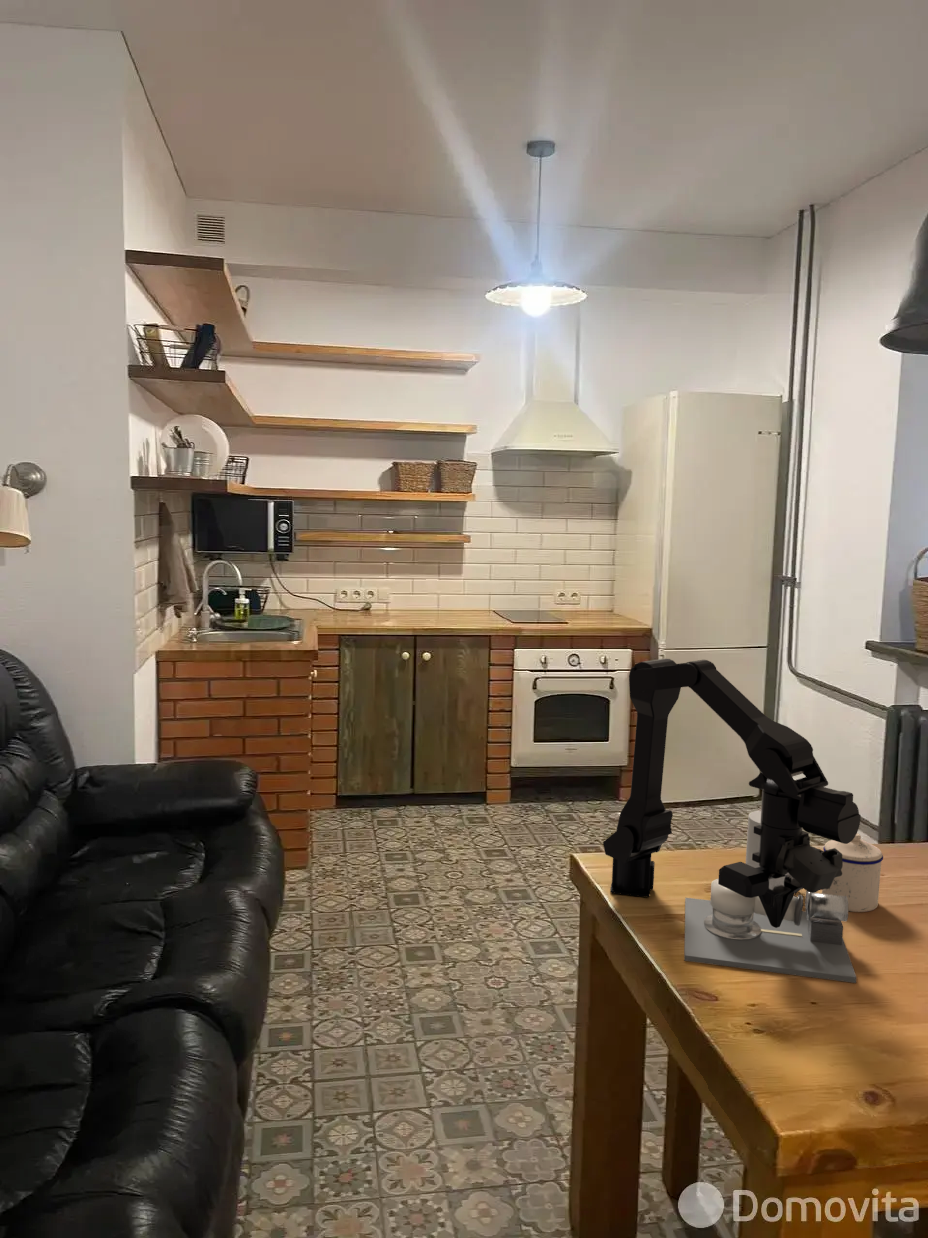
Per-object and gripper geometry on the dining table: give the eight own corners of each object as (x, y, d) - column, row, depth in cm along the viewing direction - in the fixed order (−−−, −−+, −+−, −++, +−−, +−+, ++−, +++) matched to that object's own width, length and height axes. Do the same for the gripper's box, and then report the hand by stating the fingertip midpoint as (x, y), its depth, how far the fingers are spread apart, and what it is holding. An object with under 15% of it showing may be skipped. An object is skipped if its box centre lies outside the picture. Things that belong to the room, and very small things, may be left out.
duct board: (684, 960, 132) (684, 954, 132) (685, 902, 151) (685, 896, 151) (856, 983, 127) (856, 976, 127) (834, 919, 146) (834, 914, 146)
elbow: (705, 913, 139) (706, 885, 139) (716, 896, 145) (717, 870, 145) (795, 934, 133) (797, 905, 133) (803, 915, 139) (805, 888, 138)
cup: (787, 877, 162) (791, 811, 161) (799, 896, 154) (804, 827, 153) (740, 874, 163) (744, 809, 162) (749, 894, 155) (753, 825, 154)
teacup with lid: (876, 894, 156) (881, 828, 154) (882, 917, 147) (887, 847, 146) (800, 884, 159) (805, 819, 158) (802, 906, 151) (807, 837, 149)
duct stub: (704, 936, 138) (705, 916, 138) (703, 912, 146) (704, 893, 146) (762, 943, 136) (764, 923, 136) (758, 918, 144) (760, 899, 144)
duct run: (806, 943, 136) (810, 896, 135) (803, 929, 141) (806, 884, 140) (846, 947, 135) (849, 901, 134) (841, 934, 139) (844, 888, 138)
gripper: (781, 852, 121) (774, 965, 123) (872, 829, 130) (865, 935, 132) (718, 826, 130) (712, 932, 132) (807, 807, 140) (801, 905, 142)
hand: (775, 926), depth 134 cm, fingers closed
